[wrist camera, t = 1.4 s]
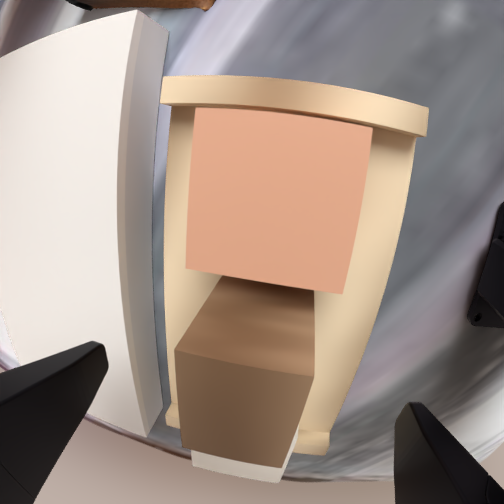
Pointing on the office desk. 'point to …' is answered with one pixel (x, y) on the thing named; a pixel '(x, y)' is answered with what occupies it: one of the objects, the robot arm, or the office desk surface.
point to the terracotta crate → (275, 196)
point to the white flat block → (84, 203)
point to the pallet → (369, 240)
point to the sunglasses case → (142, 3)
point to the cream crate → (241, 466)
